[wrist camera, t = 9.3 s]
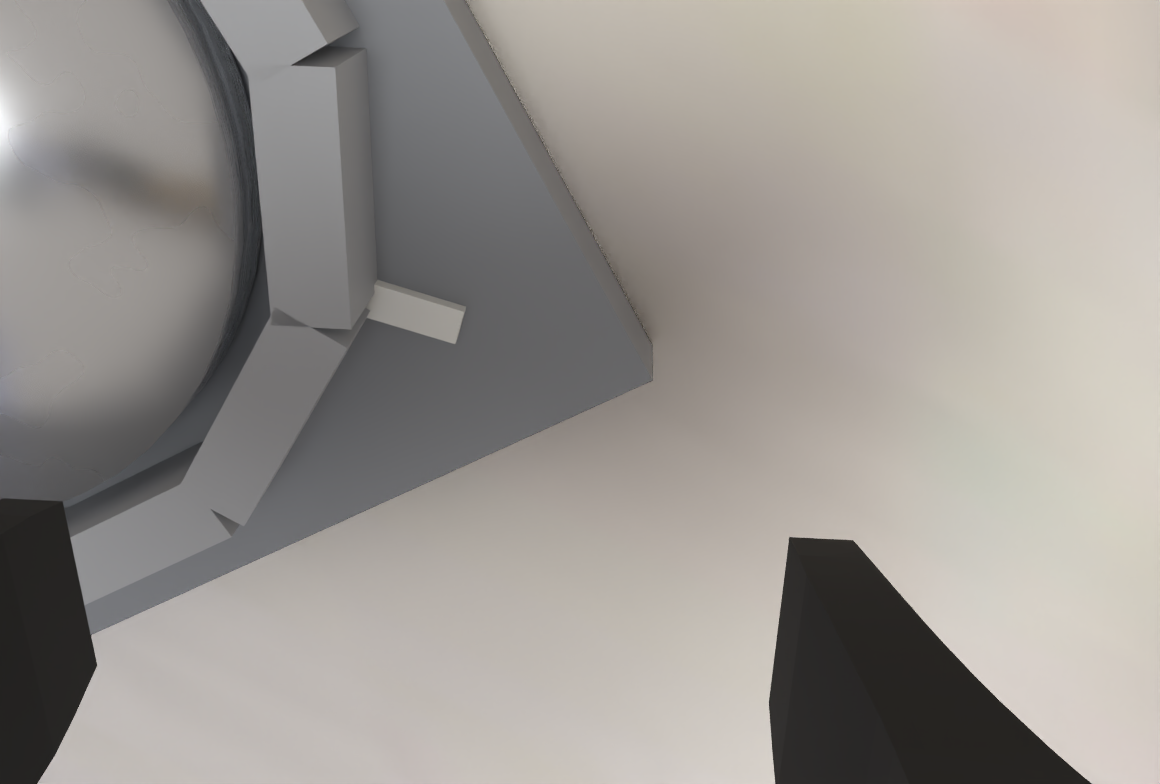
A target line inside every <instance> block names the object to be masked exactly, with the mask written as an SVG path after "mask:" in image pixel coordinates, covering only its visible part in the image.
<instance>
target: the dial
mask: <svg viewBox="0 0 1160 784" xmlns="http://www.w3.org/2000/svg"><path fill="white" fill-rule="evenodd" d="M261 231H262V217H261V207H260V196H259V185H258V175H257V164H256V154H255V143H254V132H253V122H252V117H251V113H250V109H249V106H248V102H247V98H246V95H245V91H244V87H243V84H242V80H241V76H240V73H239V71H238V68H237V66H236V63H235V61H234V58H233V56H232V53H231V51H230V48H229V46H228V43H227V42H226V40H225V38H224V37H223V35H222V34H221V32H220V31H219V29H218V27H217V26H216V24H215V23H214V21H213V20H212V18H211V16H210V15H209V13H208V12H207V10H206V9H205V7H204V5H203V4H202V2H201V1H200V0H0V499H3V498H8V499H28V500H48V501H65V500H68V499H70V498H73V497H76V496H78V495H81V494H83V493H85V492H87V491H88V490H90V489H92V488H94V487H95V486H97V485H99V484H101V483H102V482H104V481H106V480H108V479H109V478H111V477H113V476H115V475H116V474H118V473H119V472H121V471H122V470H123V469H124V468H126V467H127V466H128V465H129V464H131V463H132V462H133V461H134V460H136V459H137V458H138V457H139V456H141V455H142V454H143V453H144V452H146V451H147V450H148V449H149V448H150V447H151V446H152V445H153V444H154V443H155V442H156V441H157V439H158V438H159V437H160V436H161V435H162V434H163V433H164V432H165V431H166V430H167V428H168V427H169V426H170V425H171V424H172V423H173V422H174V421H175V420H176V419H177V417H178V416H179V415H180V414H181V413H182V412H183V410H184V409H185V408H186V407H187V406H188V405H189V403H190V402H191V401H192V400H193V399H194V398H195V396H196V395H197V394H198V393H199V392H200V391H201V389H202V388H203V387H204V386H205V385H206V384H207V382H208V381H209V379H210V377H211V376H212V374H213V373H214V371H215V370H216V368H217V367H218V365H219V364H220V362H221V361H222V359H223V358H224V356H225V354H226V353H227V351H228V350H229V347H230V345H231V343H232V341H233V338H234V336H235V334H236V332H237V329H238V327H239V325H240V323H241V320H242V318H243V316H244V314H245V311H246V307H247V304H248V300H249V296H250V293H251V289H252V285H253V282H254V278H255V275H256V271H257V263H258V255H259V247H260V239H261Z"/></svg>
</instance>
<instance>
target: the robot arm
mask: <svg viewBox="0 0 1160 784" xmlns="http://www.w3.org/2000/svg"><path fill="white" fill-rule="evenodd" d="M96 667H97V663H96V658H95V653H94V648H93V644H92V639H91V634H90V629H89V625H88V620H87V615H86V610H85V605H84V601H83V596H82V591H81V586H80V582H79V577H78V572H77V567H76V563H75V558H74V553H73V548H72V543H71V539H70V534H69V529H68V524H67V520H66V515H65V510H64V505H63V501H48V500H28V499H8V498H3V499H0V784H37V783H38V781H39V780H40V778H41V777H42V775H43V773H44V772H45V770H46V769H47V767H48V765H49V764H50V762H51V761H52V759H53V757H54V756H55V754H56V752H57V750H58V748H59V746H60V744H61V742H62V740H63V738H64V736H65V734H66V732H67V730H68V728H69V726H70V724H71V722H72V720H73V718H74V716H75V714H76V711H77V709H78V707H79V705H80V702H81V700H82V698H83V696H84V693H85V691H86V689H87V687H88V684H89V682H90V680H91V678H92V676H93V673H94V671H95V669H96ZM769 710H770V723H771V737H772V750H773V762H774V773H775V784H1091V783H1090V782H1089V781H1088V780H1086V779H1085V778H1084V777H1083V776H1082V775H1080V774H1079V773H1078V772H1077V771H1076V770H1075V769H1073V768H1072V767H1071V766H1070V765H1069V764H1068V763H1066V762H1065V761H1064V760H1063V759H1062V758H1061V757H1060V756H1058V755H1057V754H1056V753H1055V752H1054V751H1053V750H1052V749H1050V748H1049V747H1048V746H1047V745H1046V744H1045V743H1044V742H1043V741H1042V740H1041V739H1040V738H1039V737H1038V736H1036V735H1035V734H1034V733H1033V732H1032V731H1031V730H1030V729H1029V728H1028V727H1027V726H1026V725H1025V724H1024V723H1023V722H1021V721H1020V720H1019V719H1018V718H1017V717H1016V716H1015V715H1014V714H1013V713H1012V712H1011V711H1010V710H1009V709H1008V708H1006V707H1005V706H1004V705H1003V704H1002V703H1001V702H1000V701H999V700H998V699H997V698H996V697H995V696H994V695H993V694H992V693H991V692H990V691H989V690H988V689H987V688H986V687H985V686H984V685H983V684H982V683H981V682H980V681H979V680H978V679H977V678H976V677H975V676H974V675H973V674H972V673H971V672H970V671H969V670H968V669H967V668H966V666H965V665H964V664H963V663H962V662H961V661H960V660H959V659H958V658H957V657H956V656H955V655H954V654H953V653H952V652H951V651H950V650H949V649H948V648H947V646H946V645H945V644H944V643H943V642H942V641H941V640H940V639H939V638H938V637H937V636H936V634H935V633H934V632H933V631H932V630H931V629H930V628H929V627H928V626H927V625H926V623H925V622H924V621H923V620H922V619H921V618H920V617H919V615H918V614H917V613H916V612H915V611H914V610H913V609H912V607H911V606H910V605H909V604H908V603H907V602H906V601H905V600H904V598H903V597H902V596H901V595H900V594H899V593H898V591H897V590H896V589H895V588H894V587H893V586H892V584H891V583H890V582H889V581H888V580H887V579H886V578H885V576H884V575H883V574H882V573H881V572H880V571H879V569H878V568H877V567H876V566H875V565H874V564H873V562H872V561H871V560H870V559H869V558H868V557H867V556H866V555H865V553H864V552H863V551H862V550H861V549H860V548H859V547H858V545H857V544H856V543H855V542H854V541H853V540H834V539H814V538H794V537H789V545H788V553H787V561H786V570H785V578H784V586H783V594H782V602H781V610H780V618H779V626H778V634H777V642H776V650H775V658H774V666H773V674H772V682H771V690H770V699H769Z"/></svg>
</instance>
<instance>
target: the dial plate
mask: <svg viewBox="0 0 1160 784" xmlns="http://www.w3.org/2000/svg"><path fill="white" fill-rule="evenodd" d="M200 1H201V2H202V4H203V5H204V7H205V9H206V10H207V12H208V13H209V15H210V16H211V18H212V20H213V21H214V23H215V24H216V26H217V27H218V29H219V31H220V32H221V34H222V35H223V37H224V38H225V40H226V42H227V43H228V46H229V48H230V51H231V53H232V56H233V58H234V61H235V63H236V66H237V68H238V71H239V73H240V76H241V80H242V84H243V87H244V91H245V95H246V98H247V102H248V106H249V109H250V113H251V117H252V122H253V132H254V143H255V154H256V164H257V175H258V185H259V196H260V207H261V217H262V231H261V239H260V247H259V255H258V263H257V271H256V275H255V278H254V282H253V285H252V289H251V293H250V296H249V300H248V304H247V307H246V311H245V314H244V316H243V318H242V320H241V323H240V325H239V327H238V329H237V332H236V334H235V336H234V338H233V341H232V343H231V345H230V347H229V350H228V351H227V353H226V354H225V356H224V358H223V359H222V361H221V362H220V364H219V365H218V367H217V368H216V370H215V371H214V373H213V374H212V376H211V377H210V379H209V381H208V382H207V384H206V385H205V386H204V387H203V388H202V389H201V391H200V392H199V393H198V394H197V395H196V396H195V398H194V399H193V400H192V401H191V402H190V403H189V405H188V406H187V407H186V408H185V409H184V410H183V412H182V413H181V414H180V415H179V416H178V417H177V419H176V420H175V421H174V422H173V423H172V424H171V425H170V426H169V427H168V428H167V430H166V431H165V432H164V433H163V434H162V435H161V436H160V437H159V438H158V439H157V441H156V442H155V443H154V444H153V445H152V446H151V447H150V448H149V449H148V450H147V451H146V452H144V453H143V454H142V455H141V456H139V457H138V458H137V459H136V460H134V461H133V462H132V463H131V464H129V465H128V466H127V467H126V468H124V469H123V470H122V471H121V472H119V473H118V474H116V475H115V476H113V477H111V478H109V479H108V480H106V481H104V482H102V483H101V484H99V485H97V486H95V487H94V488H92V489H90V490H88V491H87V492H85V493H83V494H81V495H78V496H76V497H73V498H70V499H68V500H65V501H63V505H64V510H65V515H66V520H67V524H68V529H69V534H70V539H71V543H72V548H73V553H74V558H75V563H76V567H77V572H78V577H79V582H80V586H81V591H82V596H83V601H84V605H85V610H86V615H87V620H88V625H89V629H90V634H91V635H92V634H94V633H97V632H99V631H101V630H103V629H105V628H108V627H110V626H112V625H114V624H116V623H119V622H121V621H123V620H125V619H127V618H130V617H132V616H134V615H136V614H138V613H141V612H143V611H145V610H147V609H149V608H152V607H154V606H156V605H158V604H160V603H163V602H165V601H167V600H169V599H172V598H174V597H176V596H178V595H180V594H183V593H185V592H187V591H189V590H191V589H194V588H196V587H198V586H200V585H202V584H205V583H207V582H209V581H211V580H213V579H216V578H218V577H220V576H222V575H224V574H227V573H229V572H231V571H233V570H235V569H238V568H240V567H242V566H244V565H247V564H249V563H251V562H253V561H255V560H258V559H260V558H262V557H264V556H266V555H269V554H271V553H273V552H275V551H277V550H280V549H282V548H284V547H286V546H288V545H291V544H293V543H295V542H297V541H299V540H302V539H304V538H306V537H308V536H310V535H313V534H315V533H317V532H319V531H322V530H324V529H326V528H328V527H330V526H333V525H335V524H337V523H339V522H341V521H344V520H346V519H348V518H350V517H352V516H355V515H357V514H359V513H361V512H363V511H366V510H368V509H370V508H372V507H374V506H377V505H379V504H381V503H383V502H385V501H388V500H390V499H392V498H394V497H397V496H399V495H401V494H403V493H405V492H408V491H410V490H412V489H414V488H416V487H419V486H421V485H423V484H425V483H427V482H430V481H432V480H434V479H436V478H438V477H441V476H443V475H445V474H447V473H449V472H452V471H454V470H456V469H458V468H460V467H463V466H465V465H467V464H469V463H472V462H474V461H476V460H478V459H480V458H483V457H485V456H487V455H489V454H491V453H494V452H496V451H498V450H500V449H502V448H505V447H507V446H509V445H511V444H513V443H516V442H518V441H520V440H522V439H524V438H527V437H529V436H531V435H533V434H535V433H538V432H540V431H542V430H544V429H547V428H549V427H551V426H553V425H555V424H558V423H560V422H562V421H564V420H566V419H569V418H571V417H573V416H575V415H577V414H580V413H582V412H584V411H586V410H588V409H591V408H593V407H595V406H597V405H599V404H602V403H604V402H606V401H608V400H610V399H613V398H615V397H617V396H619V395H622V394H624V393H626V392H628V391H630V390H633V389H635V388H637V387H639V386H641V385H644V384H646V383H648V382H650V381H652V380H653V354H652V344H651V342H650V340H649V338H648V336H647V335H646V333H645V331H644V329H643V327H642V325H641V324H640V322H639V320H638V318H637V316H636V314H635V312H634V311H633V309H632V307H631V305H630V303H629V301H628V300H627V298H626V296H625V294H624V292H623V290H622V289H621V287H620V285H619V283H618V281H617V279H616V277H615V276H614V274H613V272H612V270H611V268H610V266H609V265H608V263H607V261H606V259H605V257H604V255H603V253H602V252H601V250H600V248H599V246H598V244H597V242H596V241H595V239H594V237H593V235H592V233H591V231H590V230H589V228H588V226H587V224H586V222H585V220H584V218H583V217H582V215H581V213H580V211H579V209H578V207H577V206H576V204H575V202H574V200H573V198H572V196H571V195H570V193H569V191H568V189H567V187H566V185H565V183H564V182H563V180H562V178H561V176H560V174H559V172H558V171H557V169H556V167H555V165H554V163H553V161H552V159H551V158H550V156H549V154H548V152H547V150H546V148H545V147H544V145H543V143H542V141H541V139H540V137H539V136H538V134H537V132H536V130H535V128H534V126H533V124H532V123H531V121H530V119H529V117H528V115H527V113H526V112H525V110H524V108H523V106H522V104H521V102H520V100H519V99H518V97H517V95H516V93H515V91H514V89H513V88H512V86H511V84H510V82H509V80H508V78H507V77H506V75H505V73H504V71H503V69H502V67H501V65H500V64H499V62H498V60H497V58H496V56H495V54H494V53H493V51H492V49H491V47H490V45H489V43H488V42H487V40H486V38H485V36H484V34H483V32H482V30H481V29H480V27H479V25H478V23H477V21H476V19H475V18H474V16H473V14H472V12H471V10H470V8H469V6H468V5H467V3H466V1H465V0H200Z"/></svg>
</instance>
